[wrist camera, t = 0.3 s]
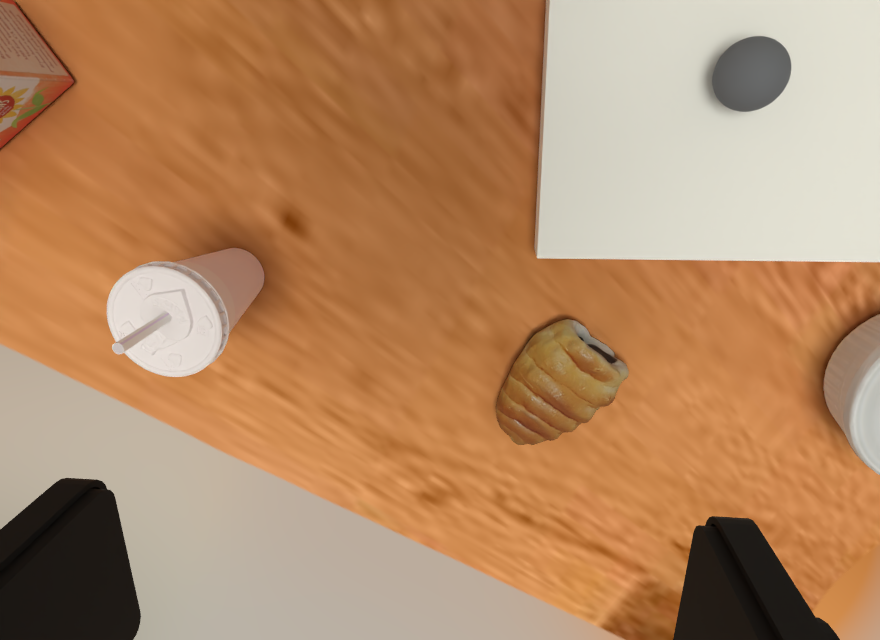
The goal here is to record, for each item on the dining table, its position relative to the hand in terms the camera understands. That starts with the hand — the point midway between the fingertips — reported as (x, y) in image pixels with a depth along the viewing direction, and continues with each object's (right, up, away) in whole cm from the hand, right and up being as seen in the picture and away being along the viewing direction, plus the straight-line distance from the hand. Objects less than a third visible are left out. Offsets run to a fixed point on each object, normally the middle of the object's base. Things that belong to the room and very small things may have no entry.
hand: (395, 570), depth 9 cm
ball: (+16, +16, +20) cm, 30 cm away
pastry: (+9, 0, +31) cm, 33 cm away
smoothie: (-13, +7, +31) cm, 34 cm away
